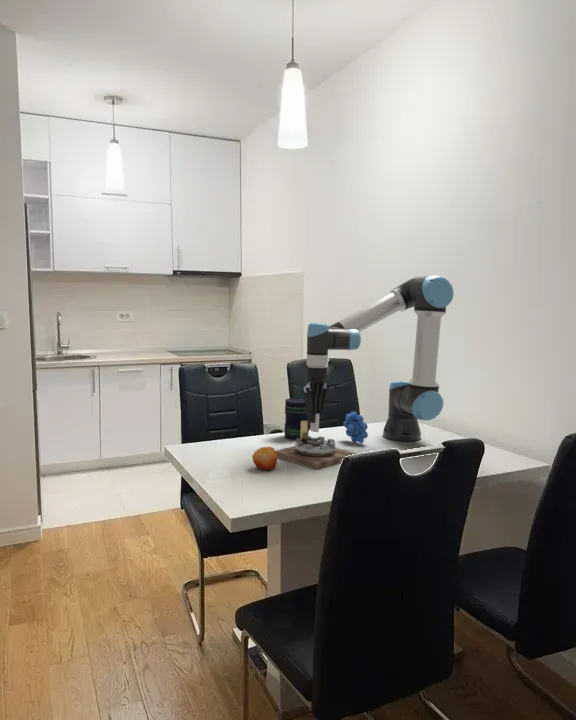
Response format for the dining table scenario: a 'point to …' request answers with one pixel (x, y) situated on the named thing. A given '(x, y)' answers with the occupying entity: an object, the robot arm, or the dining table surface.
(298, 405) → the storage jar
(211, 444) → the dining table surface
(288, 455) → the base plate
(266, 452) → the fruit
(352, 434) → the grapes
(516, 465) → the dining table surface
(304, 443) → the crank wheel
